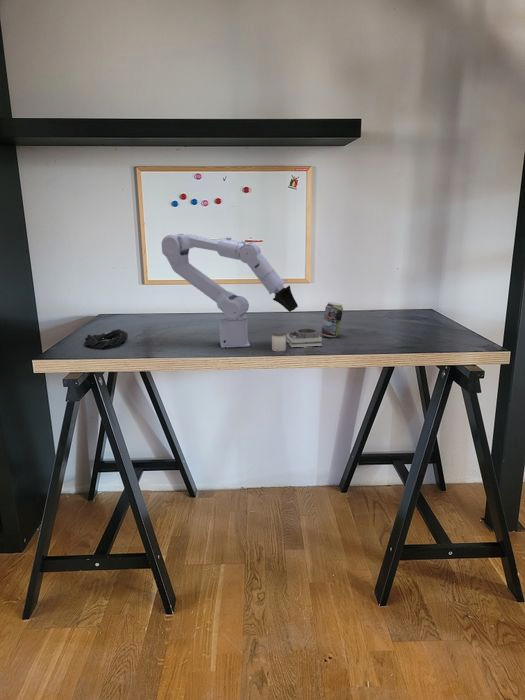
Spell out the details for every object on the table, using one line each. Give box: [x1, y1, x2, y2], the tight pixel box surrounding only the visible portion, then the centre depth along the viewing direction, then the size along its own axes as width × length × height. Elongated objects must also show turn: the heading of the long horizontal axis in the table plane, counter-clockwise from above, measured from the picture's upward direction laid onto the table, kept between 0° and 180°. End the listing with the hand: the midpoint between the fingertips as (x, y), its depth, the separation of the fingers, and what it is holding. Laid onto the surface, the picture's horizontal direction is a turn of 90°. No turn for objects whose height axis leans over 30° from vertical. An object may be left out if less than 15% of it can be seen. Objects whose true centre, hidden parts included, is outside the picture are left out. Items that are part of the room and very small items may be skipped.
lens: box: [271, 330, 287, 352], centre depth 163 cm, size 5×5×6 cm
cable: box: [84, 328, 129, 350], centre depth 175 cm, size 17×14×4 cm
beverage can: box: [321, 301, 344, 338], centre depth 180 cm, size 6×7×12 cm
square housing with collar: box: [286, 327, 323, 348], centre depth 170 cm, size 10×8×4 cm
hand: (293, 309), depth 164 cm, fingers open, 7 cm apart
